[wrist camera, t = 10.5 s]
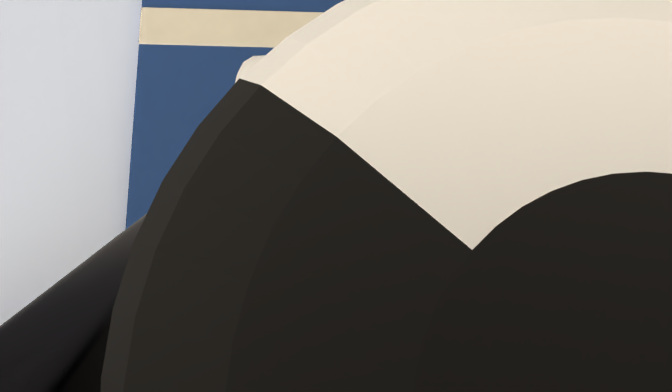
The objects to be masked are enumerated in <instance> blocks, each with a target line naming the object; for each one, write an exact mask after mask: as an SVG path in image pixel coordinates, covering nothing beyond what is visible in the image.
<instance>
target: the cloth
mask: <svg viewBox="0 0 672 392" xmlns="http://www.w3.org/2000/svg"><path fill="white" fill-rule="evenodd" d="M342 1H344V0H142V8H141V20H140V34H139V53H138V66H137V80H136V94H135V107H134V121H133V135H132V148H131V162H130V176H129V189H128V203H127V217H126V229H127V228H128V227H130V226H131V225H132V224H134V223H135V222H136V221H138V220H139V219H140V218H141V217H143V216H144V215H145V214H147V212H148V210H149V208H150V206H151V204H152V202H153V200H154V198H155V195H156V193H157V191H158V189H159V187H160V185H161V183H162V181H163V179H164V178H165V176H166V174H167V173H168V171H169V170H170V168H171V167H172V165H173V164H174V162H175V161H176V159H177V158H178V156H179V154H180V153H181V151H182V150H183V148H184V147H185V145H186V144H187V142H188V141H189V139H190V138H191V136H192V134H193V133H194V131H195V130H196V128H197V127H198V125H199V124H200V123H201V122H202V121H203V120H204V119H205V117H206V116H207V115H208V114H209V113H210V112H211V110H212V109H213V108H214V107H215V106H216V105H217V104H218V102H219V101H220V100H221V99H222V98H223V97H224V95H225V94H226V93H227V92H228V91H229V90H230V89H231V87H232V86H233V85H234V84H235V81H236V76H237V73H238V71H239V69H240V67H241V65H242V64H243V62H244V61H246V60H247V59H249V58H251V57H252V56H262V55H267V54H268V53H269V52H270V51H271V50H272V49H273V48H275V47H276V46H277V45H278V44H279V43H280V42H281V41H283V40H284V39H285V38H286V37H288V36H289V35H291V34H292V33H294V32H295V31H297V30H298V29H300V28H301V27H303V26H304V25H306V24H307V23H309V22H310V21H312V20H313V19H315V18H316V17H318V16H319V15H321V14H323V13H324V12H326V11H327V10H329V9H330V8H332V7H333V6H335V5H336V4H338V3H340V2H342Z"/></svg>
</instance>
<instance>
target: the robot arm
mask: <svg viewBox="0 0 672 392" xmlns="http://www.w3.org/2000/svg"><path fill="white" fill-rule="evenodd" d="M145 217H146V214H145V215H144V216H143V217H141V218H140V219H139V220H138V221H136V222H135V223H134V224H132V225H131V226H130V227H128V228H127V229H126V230H125V231H123V232H122V233H121V234H119V235H118V236H117V237H115V238H114V239H113V240H112V241H110V242H109V243H108V244H106V245H105V246H104V247H102V248H101V249H100V250H99V251H97V252H96V253H95V254H93V255H92V256H91V257H89V258H88V259H87V260H86V261H84V262H83V263H82V264H80V265H79V266H78V267H76V268H75V269H74V270H73V271H71V272H70V273H69V274H67V275H66V276H65V277H63V278H62V279H61V280H60V281H58V282H57V283H56V284H54V285H53V286H52V287H50V288H49V289H48V290H47V291H45V292H44V293H43V294H41V295H40V296H39V297H37V298H36V299H35V300H34V301H32V302H31V303H30V304H28V305H27V306H26V307H24V308H23V309H22V310H21V311H19V312H18V313H17V314H15V315H14V316H13V317H11V318H10V319H9V320H8V321H6V322H5V323H4V324H2V325H1V326H0V392H101V375H102V369H103V363H104V357H105V352H106V346H107V340H108V334H109V328H110V322H111V317H112V311H113V306H114V303H115V300H116V296H117V293H118V290H119V287H120V284H121V281H122V277H123V274H124V271H125V268H126V265H127V261H128V258H129V255H130V252H131V249H132V246H133V242H134V240H135V238H136V236H137V234H138V231H139V229H140V227H141V225H142V223H143V221H144V219H145Z"/></svg>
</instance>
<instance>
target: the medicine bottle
mask: <svg viewBox="0 0 672 392" xmlns="http://www.w3.org/2000/svg"><path fill="white" fill-rule="evenodd" d="M101 392H672V0H344V1H342V2H340V3H338V4H336V5H335V6H333V7H332V8H330V9H329V10H327V11H326V12H324V13H323V14H321V15H319V16H318V17H316V18H315V19H313V20H312V21H310V22H309V23H307V24H306V25H304V26H303V27H301V28H300V29H298V30H297V31H295V32H294V33H292V34H291V35H289V36H288V37H286V38H285V39H284V40H283V41H281V42H280V43H279V44H278V45H277V46H276V47H275V48H273V49H272V50H271V51H270V52H269V53H268V54H267V55H262V56H252V57H251V58H249V59H247V60H246V61H244V62H243V64H242V65H241V67H240V69H239V71H238V73H237V76H236V81H235V84H234V85H233V86H232V87H231V89H230V90H229V91H228V92H227V93H226V94H225V95H224V97H223V98H222V99H221V100H220V101H219V102H218V104H217V105H216V106H215V107H214V108H213V109H212V110H211V112H210V113H209V114H208V115H207V116H206V117H205V119H204V120H203V121H202V122H201V123H200V124H199V125H198V127H197V128H196V130H195V131H194V133H193V134H192V136H191V138H190V139H189V141H188V142H187V144H186V145H185V147H184V148H183V150H182V151H181V153H180V154H179V156H178V158H177V159H176V161H175V162H174V164H173V165H172V167H171V168H170V170H169V171H168V173H167V174H166V176H165V178H164V179H163V181H162V183H161V185H160V187H159V189H158V191H157V193H156V195H155V198H154V200H153V202H152V204H151V206H150V208H149V210H148V212H147V214H146V217H145V219H144V221H143V223H142V225H141V227H140V229H139V231H138V234H137V236H136V238H135V240H134V242H133V246H132V249H131V252H130V255H129V258H128V261H127V265H126V268H125V271H124V274H123V277H122V281H121V284H120V287H119V290H118V293H117V296H116V300H115V303H114V306H113V311H112V317H111V322H110V328H109V334H108V340H107V346H106V352H105V357H104V363H103V369H102V375H101Z"/></svg>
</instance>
